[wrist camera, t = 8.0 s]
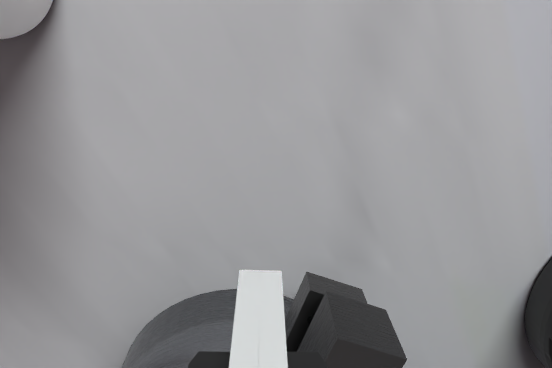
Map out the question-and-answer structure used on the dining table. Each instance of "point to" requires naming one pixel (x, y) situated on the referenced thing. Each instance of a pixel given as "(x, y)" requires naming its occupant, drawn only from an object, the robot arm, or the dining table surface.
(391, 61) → the dining table surface
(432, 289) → the dining table surface
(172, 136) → the dining table surface
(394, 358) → the lid
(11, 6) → the water bottle
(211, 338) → the pot
